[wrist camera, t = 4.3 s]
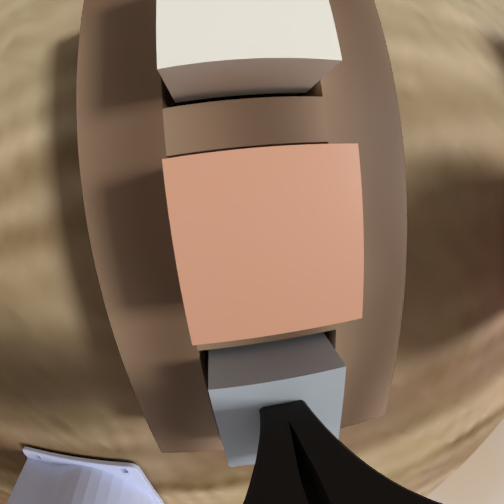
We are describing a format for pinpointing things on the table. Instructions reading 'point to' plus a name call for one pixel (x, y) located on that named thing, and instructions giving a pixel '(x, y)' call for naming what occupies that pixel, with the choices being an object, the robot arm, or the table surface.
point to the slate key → (272, 387)
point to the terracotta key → (267, 239)
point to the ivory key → (244, 46)
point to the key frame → (221, 139)
